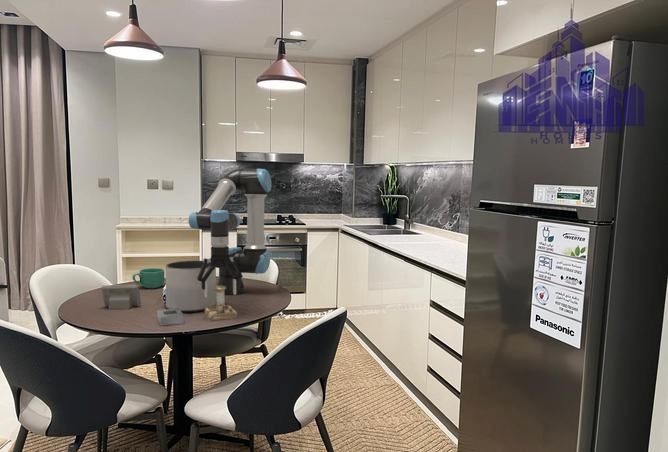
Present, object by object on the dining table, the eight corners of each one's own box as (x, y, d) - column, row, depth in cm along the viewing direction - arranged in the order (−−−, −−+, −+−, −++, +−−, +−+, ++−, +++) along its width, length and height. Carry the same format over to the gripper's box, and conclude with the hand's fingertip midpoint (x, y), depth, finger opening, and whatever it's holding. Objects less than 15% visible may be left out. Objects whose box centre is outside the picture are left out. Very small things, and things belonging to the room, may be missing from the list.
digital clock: (142, 305, 226) (142, 283, 225) (133, 310, 217) (133, 287, 216) (109, 304, 227) (108, 282, 226) (98, 309, 219) (98, 286, 218)
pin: (213, 312, 213) (212, 286, 211) (224, 311, 215) (224, 285, 213) (216, 316, 208) (215, 288, 207) (227, 314, 210) (227, 287, 209)
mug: (161, 283, 273) (160, 267, 272) (167, 288, 263) (167, 270, 262) (129, 287, 263) (129, 270, 263) (135, 291, 253) (134, 273, 252)
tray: (204, 312, 215) (204, 307, 215) (229, 309, 220) (229, 304, 220) (211, 320, 203) (211, 315, 203) (237, 317, 208) (237, 312, 208)
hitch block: (157, 318, 206) (157, 310, 205) (179, 315, 210) (179, 307, 209) (160, 326, 195) (160, 317, 195) (183, 323, 199) (183, 315, 199)
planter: (217, 300, 238) (216, 259, 236) (216, 312, 216) (215, 268, 214) (169, 302, 233) (168, 260, 231) (162, 314, 211) (161, 269, 209)
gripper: (192, 248, 200) (193, 299, 202) (249, 245, 211) (249, 294, 213) (189, 246, 207) (190, 296, 209) (244, 243, 217) (245, 290, 219)
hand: (220, 295), depth 211 cm, fingers open, 12 cm apart
